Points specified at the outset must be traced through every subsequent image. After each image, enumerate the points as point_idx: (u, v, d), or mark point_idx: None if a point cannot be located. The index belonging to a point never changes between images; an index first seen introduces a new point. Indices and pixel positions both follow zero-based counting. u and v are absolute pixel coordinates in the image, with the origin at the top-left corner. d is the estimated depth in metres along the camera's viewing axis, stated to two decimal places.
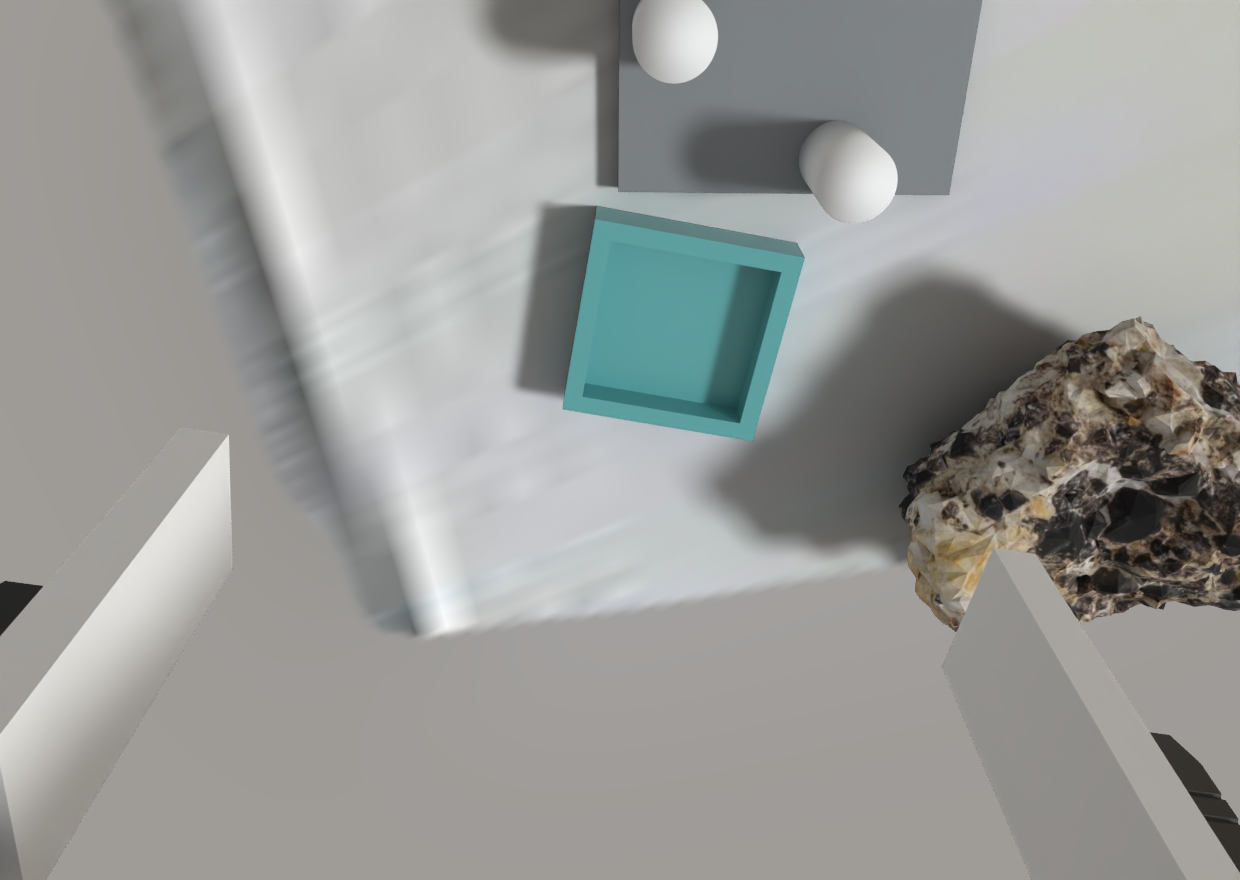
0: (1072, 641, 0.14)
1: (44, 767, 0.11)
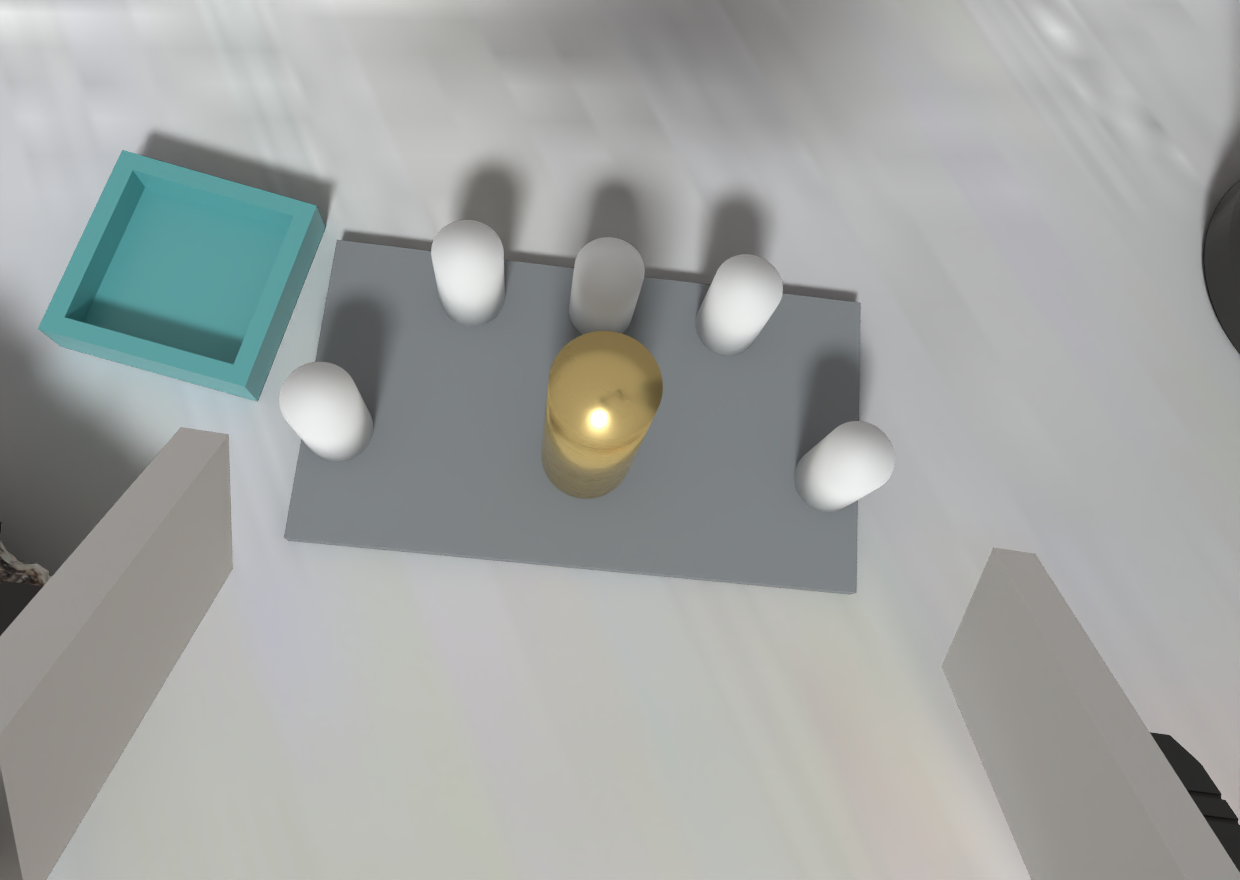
0: (1072, 641, 0.14)
1: (44, 767, 0.11)
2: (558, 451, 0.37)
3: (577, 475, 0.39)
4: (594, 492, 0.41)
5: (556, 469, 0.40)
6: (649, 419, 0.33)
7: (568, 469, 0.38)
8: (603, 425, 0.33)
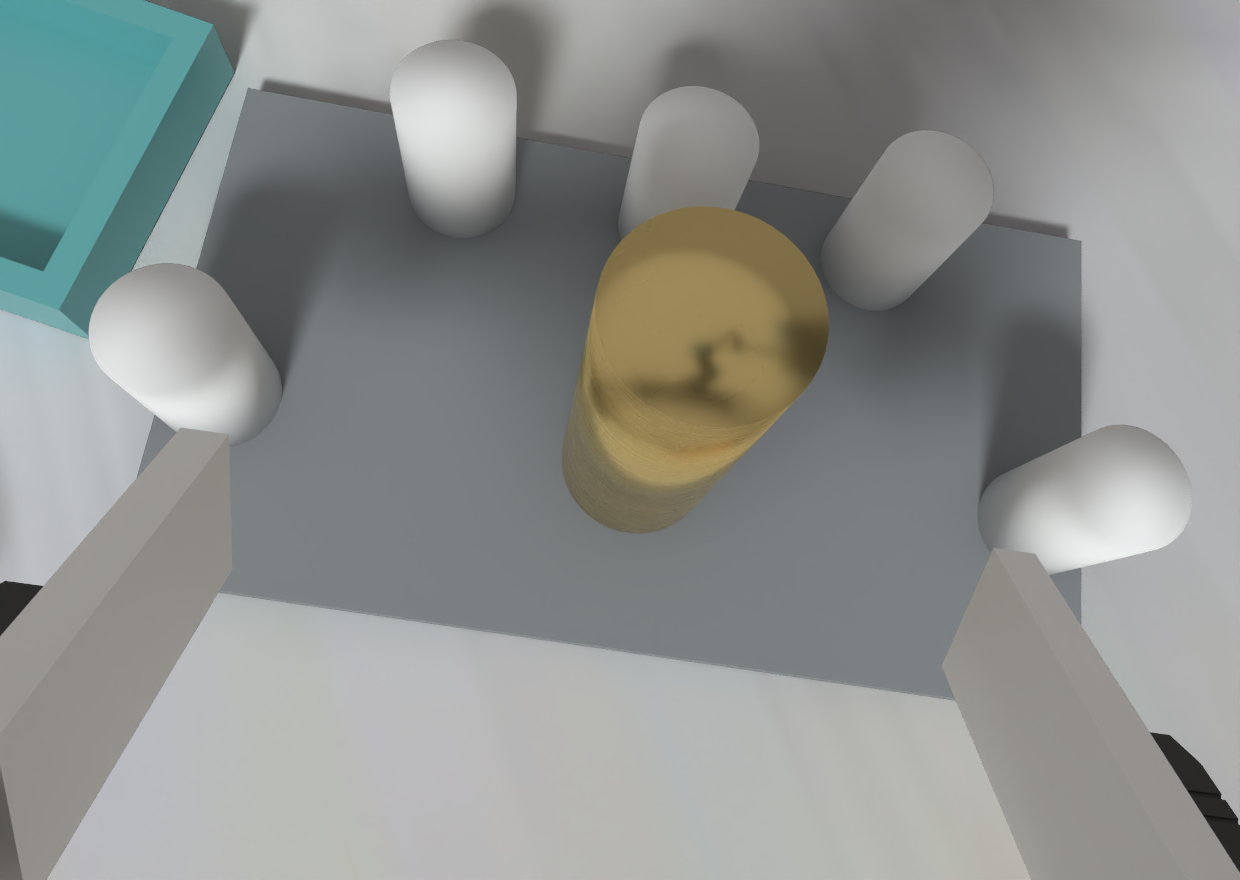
0: (1072, 641, 0.14)
1: (44, 767, 0.11)
2: (599, 448, 0.20)
3: (628, 494, 0.21)
4: (650, 524, 0.24)
5: (589, 481, 0.22)
6: (801, 389, 0.16)
7: (613, 483, 0.21)
8: (706, 396, 0.16)
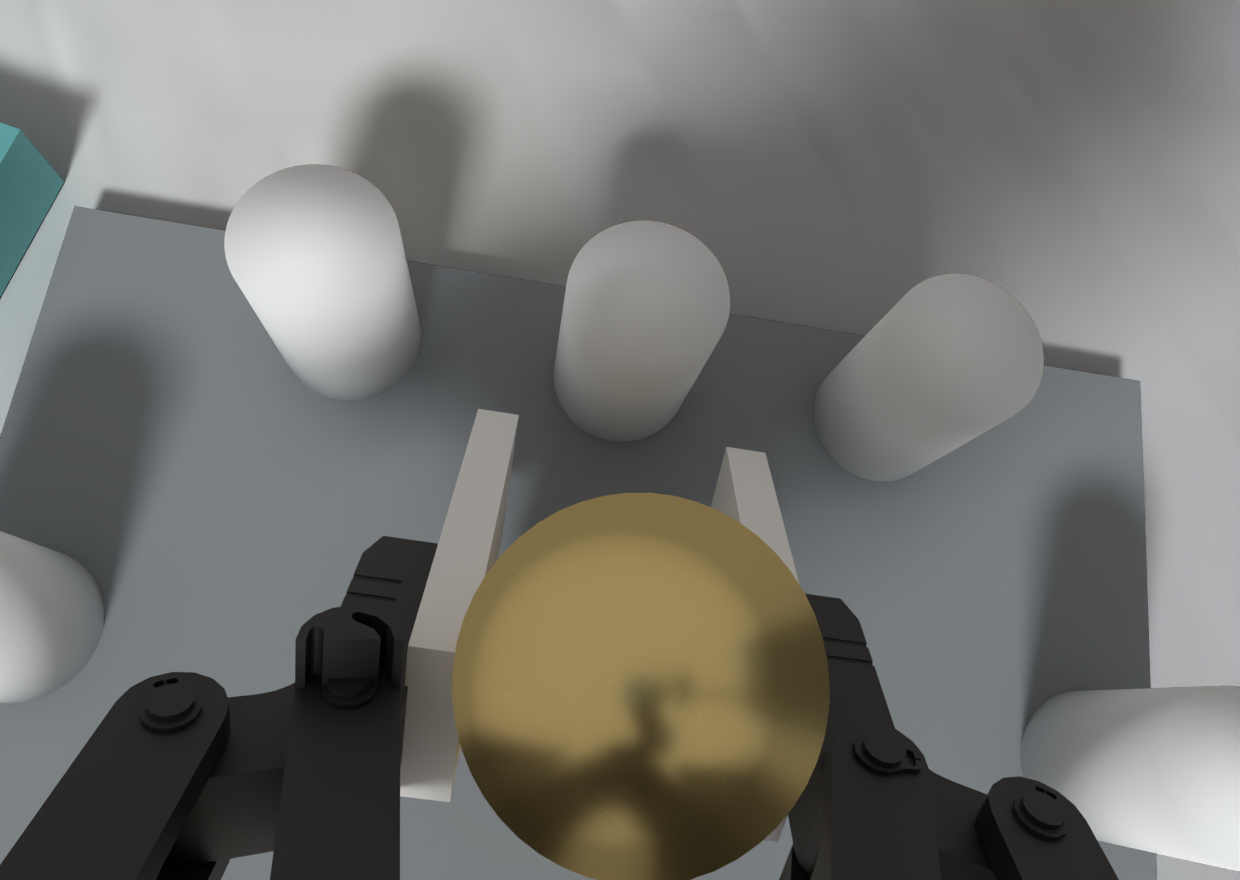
0: (763, 518, 0.16)
1: None
2: None
3: None
4: None
5: None
6: (786, 808, 0.10)
7: None
8: (631, 830, 0.10)
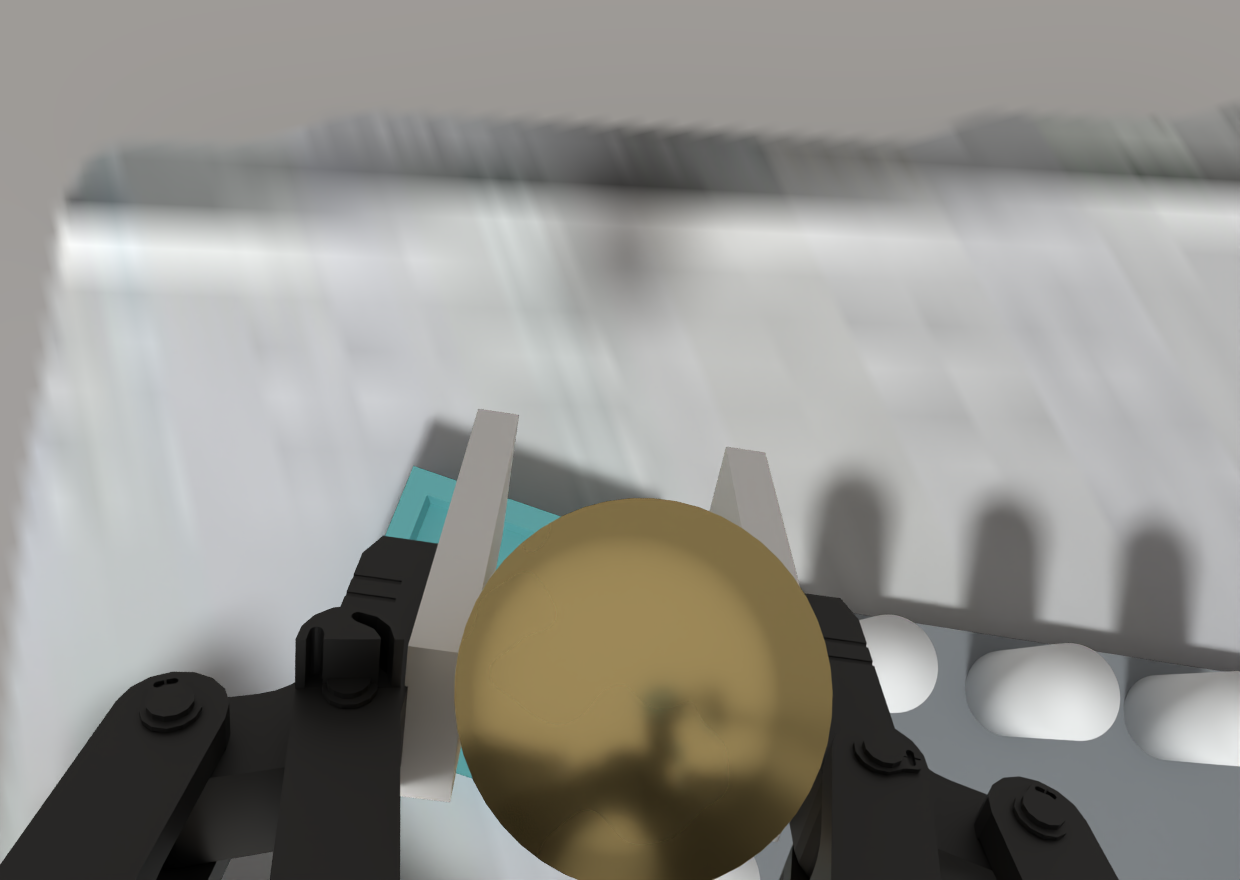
0: (763, 518, 0.16)
1: None
2: None
3: None
4: None
5: None
6: (789, 815, 0.10)
7: None
8: (634, 837, 0.10)
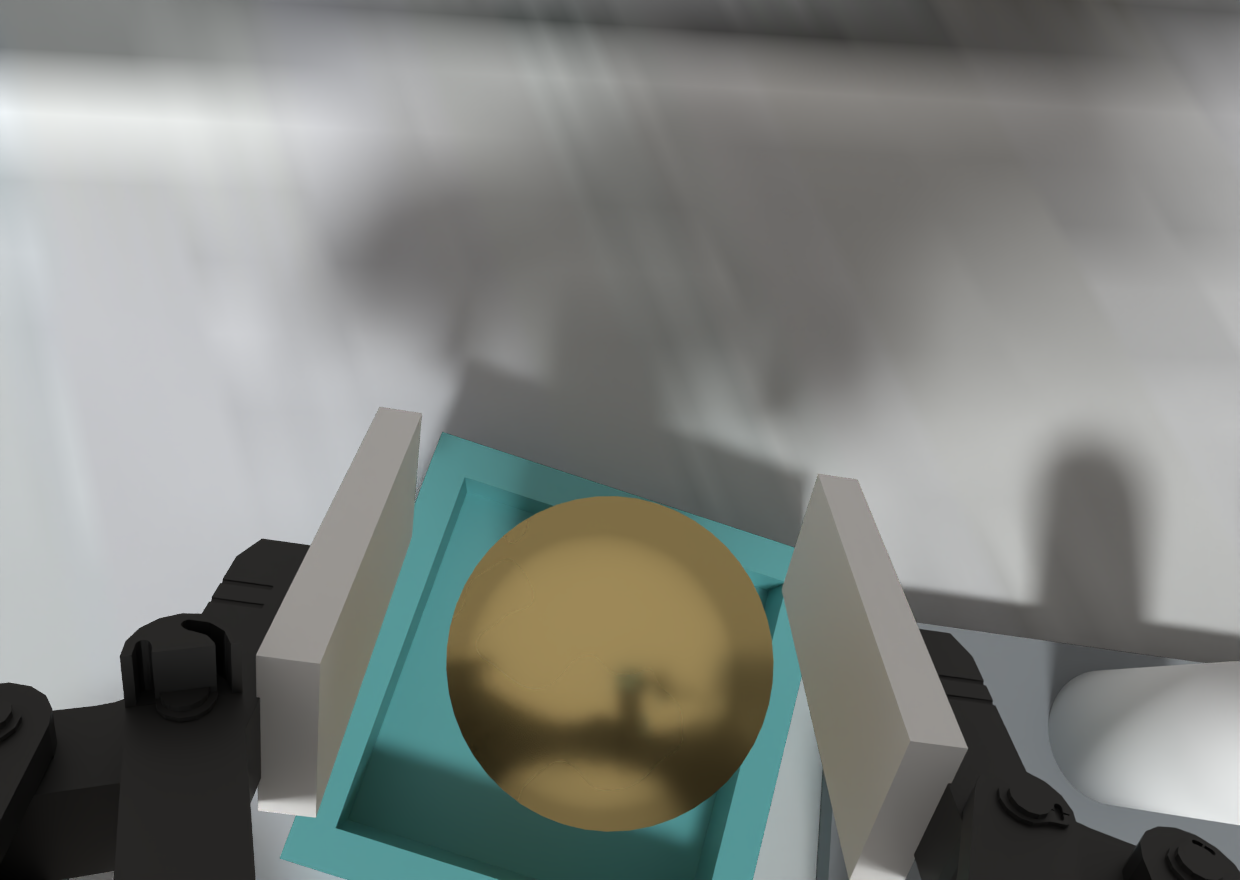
0: (868, 550, 0.16)
1: (332, 693, 0.13)
2: None
3: None
4: None
5: None
6: (735, 765, 0.11)
7: None
8: (600, 784, 0.11)
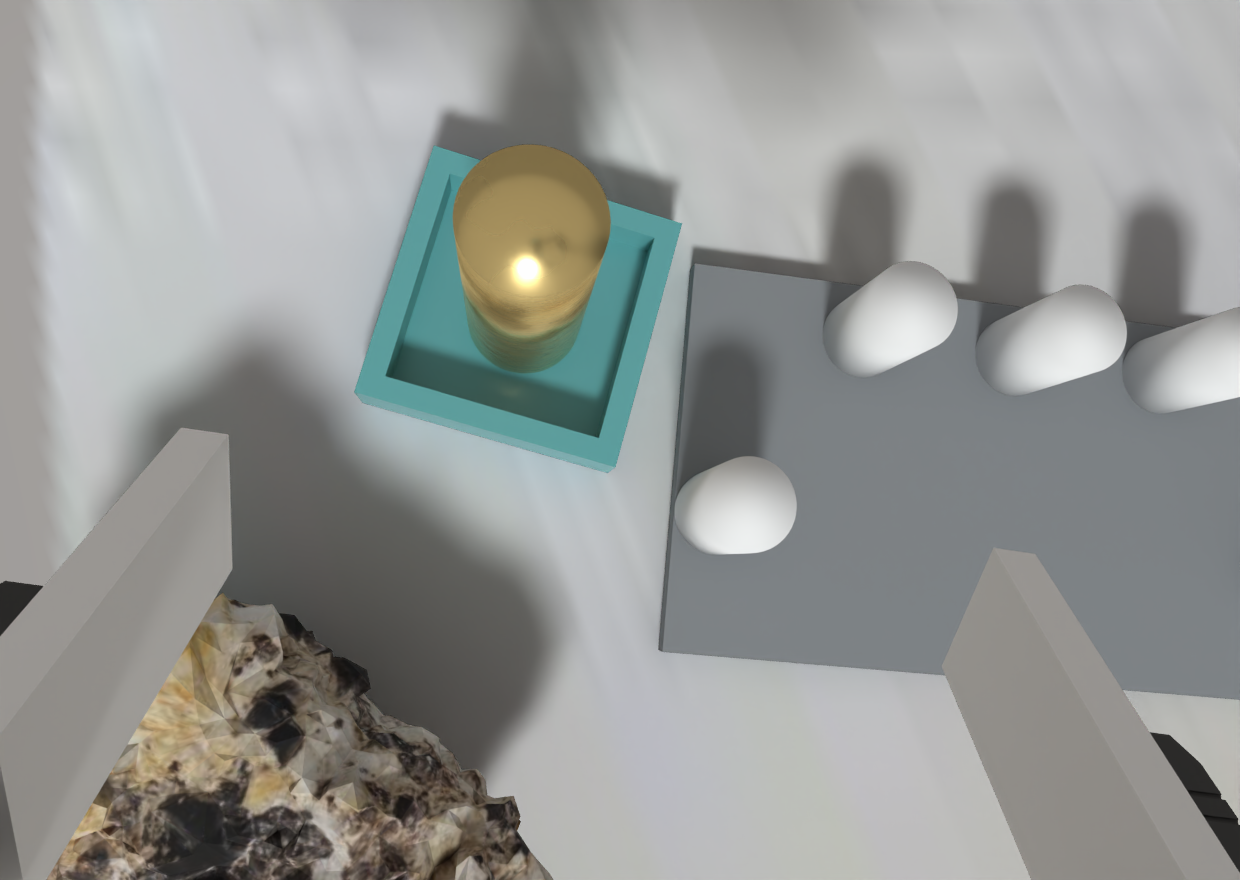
0: (1072, 641, 0.14)
1: (45, 767, 0.11)
2: (478, 313, 0.28)
3: (506, 344, 0.30)
4: (533, 365, 0.33)
5: (481, 336, 0.31)
6: (592, 268, 0.24)
7: (494, 336, 0.29)
8: (528, 276, 0.24)
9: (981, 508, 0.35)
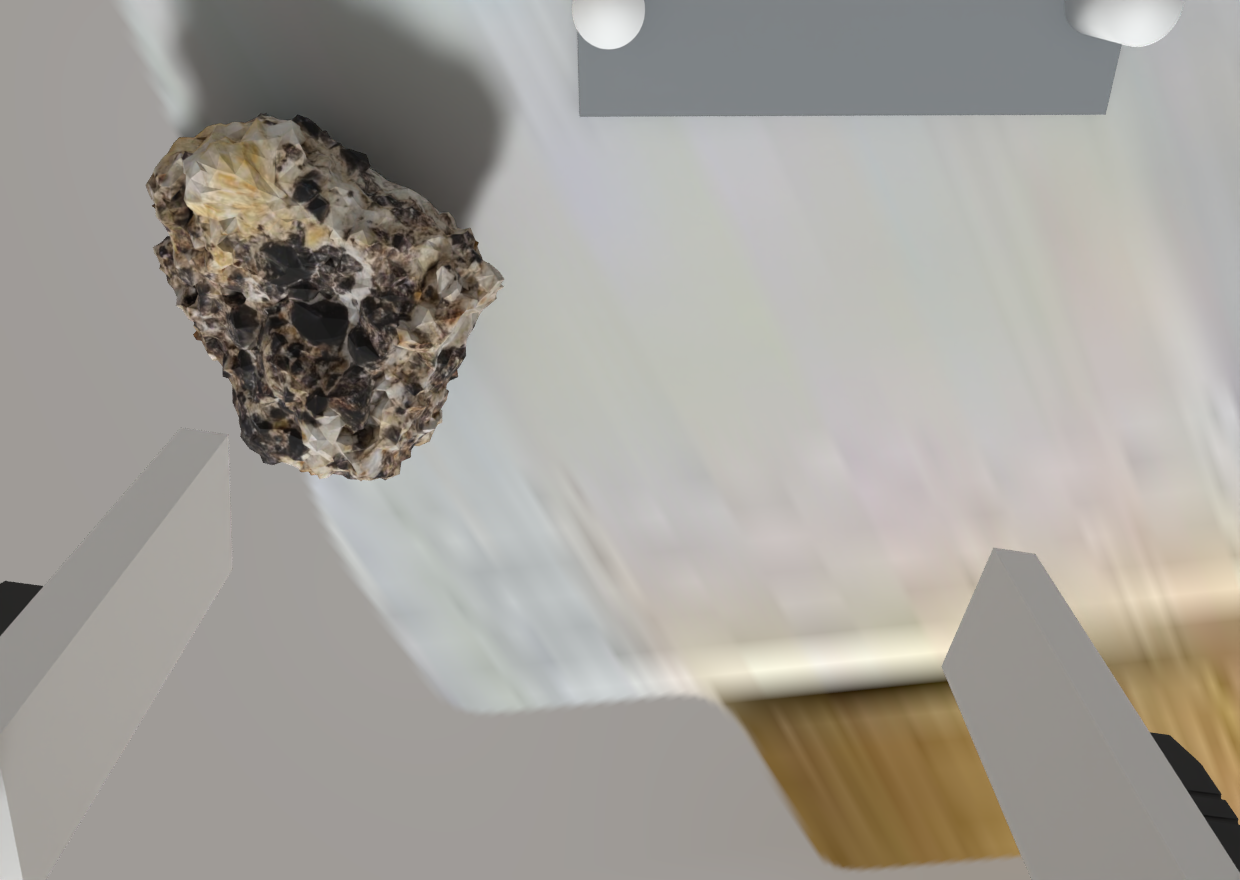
0: (1072, 641, 0.14)
1: (44, 767, 0.11)
2: None
3: None
4: None
5: None
6: None
7: None
8: None
9: None
